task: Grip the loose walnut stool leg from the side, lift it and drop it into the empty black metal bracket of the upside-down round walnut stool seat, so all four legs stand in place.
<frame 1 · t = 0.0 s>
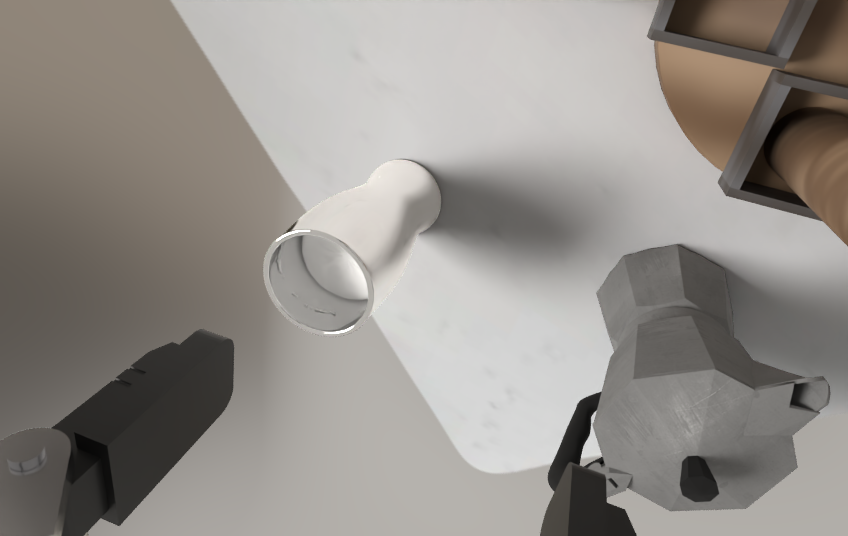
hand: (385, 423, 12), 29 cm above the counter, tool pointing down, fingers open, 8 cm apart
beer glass: (404, 196, 42), on the counter
coffeepot: (648, 306, 41), on the counter
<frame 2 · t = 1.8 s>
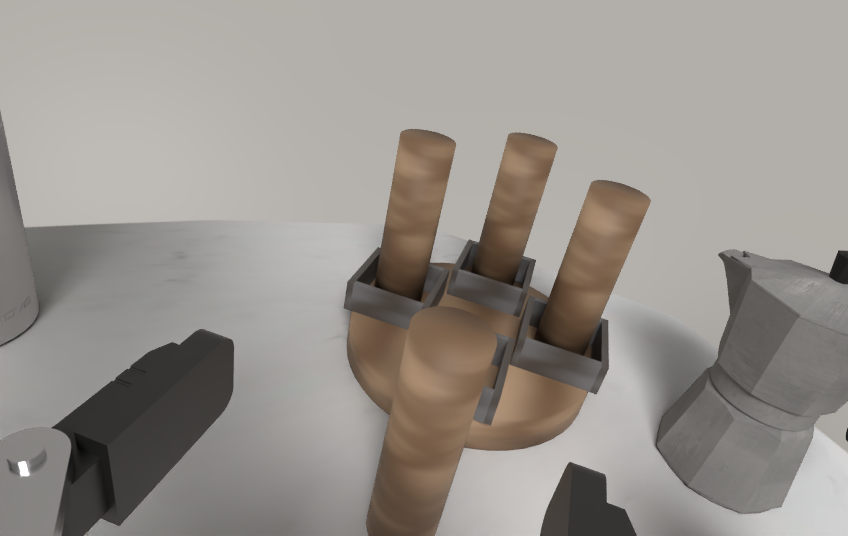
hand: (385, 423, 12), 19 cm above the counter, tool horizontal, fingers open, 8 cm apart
stool seat: (465, 355, 46), on the counter
loose leg: (401, 524, 31), on the counter
coffeepot: (728, 474, 40), on the counter
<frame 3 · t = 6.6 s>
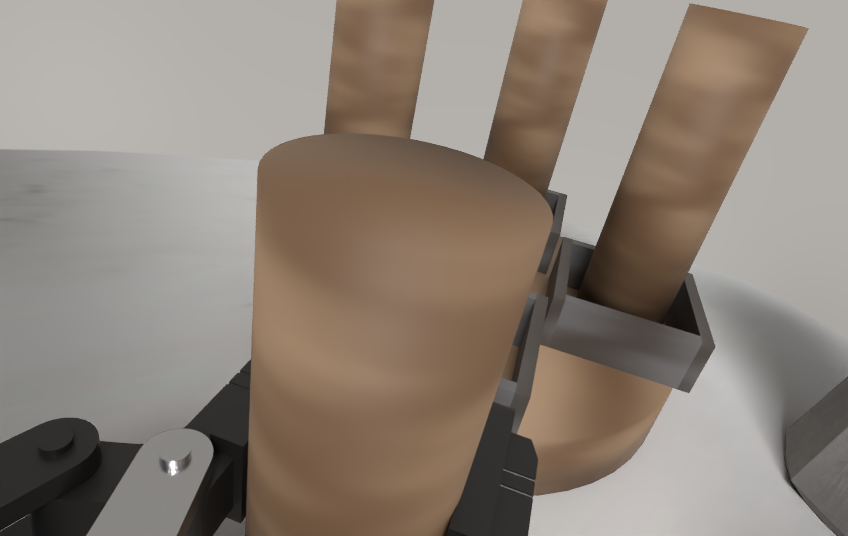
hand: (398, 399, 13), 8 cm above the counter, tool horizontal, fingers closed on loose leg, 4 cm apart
stool seat: (463, 332, 29), on the counter
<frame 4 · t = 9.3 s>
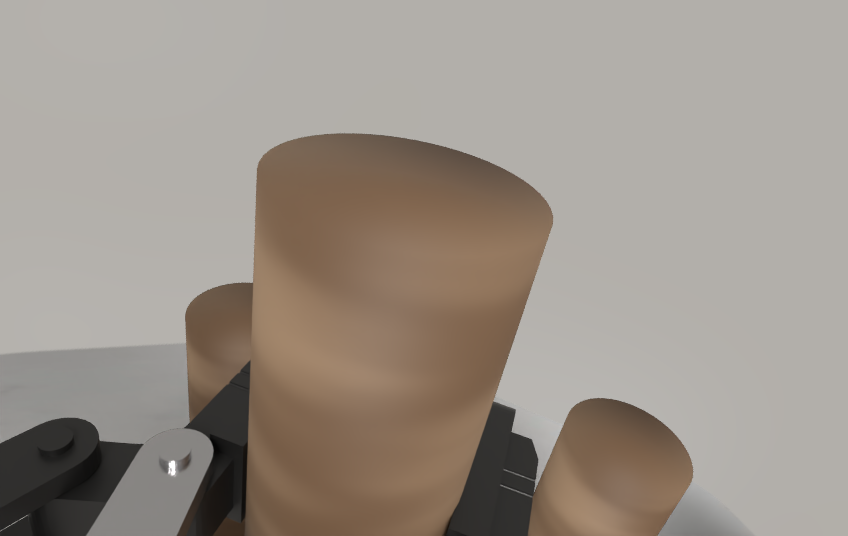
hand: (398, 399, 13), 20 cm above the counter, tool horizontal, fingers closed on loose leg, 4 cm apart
when the fingers open (12 cm above the counter, at t = 12.0 s): loose leg drops 1 cm, resting on stool seat.
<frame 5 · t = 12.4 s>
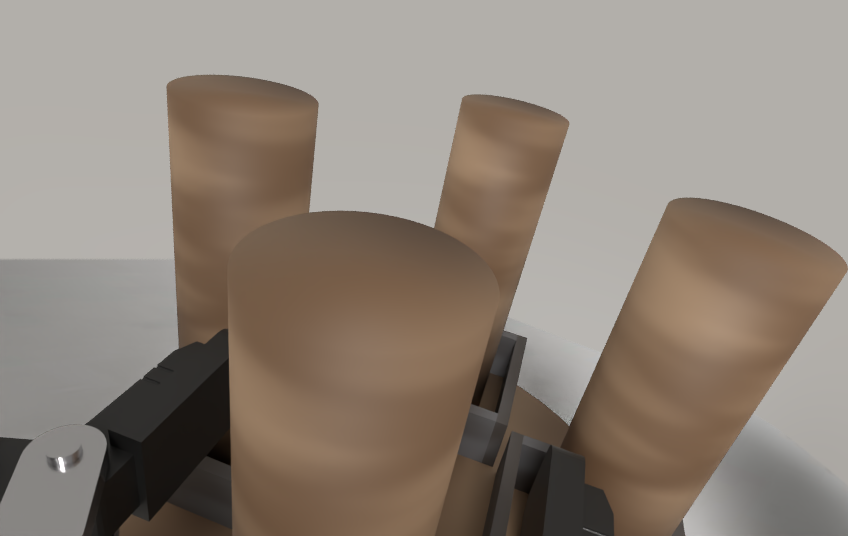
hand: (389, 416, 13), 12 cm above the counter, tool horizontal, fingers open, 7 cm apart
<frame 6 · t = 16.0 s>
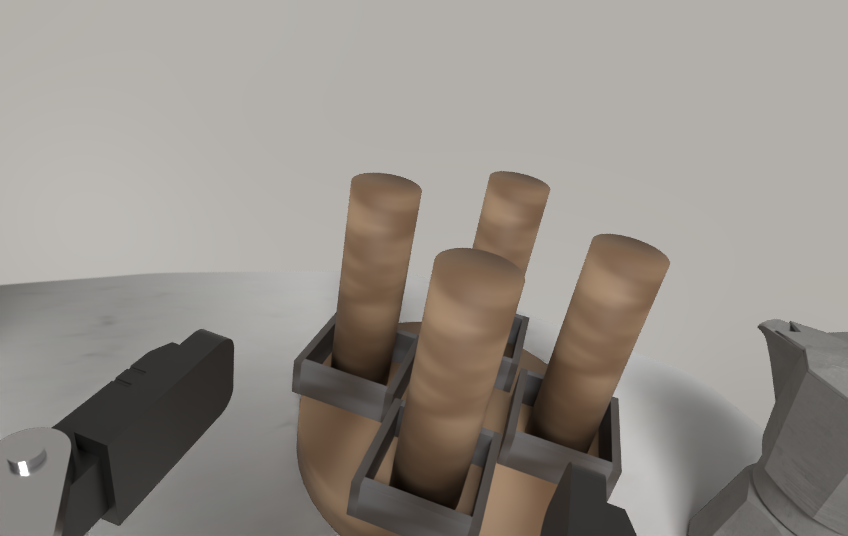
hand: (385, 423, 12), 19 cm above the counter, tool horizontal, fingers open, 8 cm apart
stool seat: (445, 441, 37), on the counter
loose leg: (424, 488, 30), point 3 cm above the counter, touching stool seat
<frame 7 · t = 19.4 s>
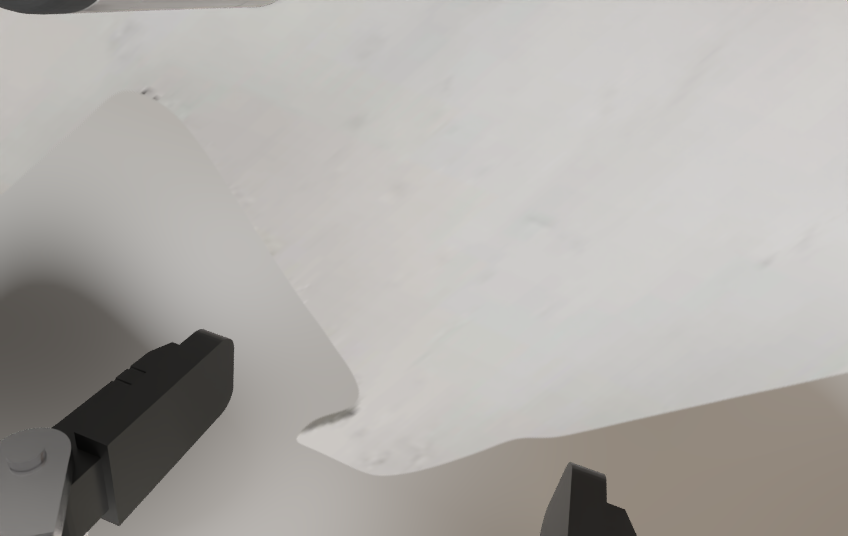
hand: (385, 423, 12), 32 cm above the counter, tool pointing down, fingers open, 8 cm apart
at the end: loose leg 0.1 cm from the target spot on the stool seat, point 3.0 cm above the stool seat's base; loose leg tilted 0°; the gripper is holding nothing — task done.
